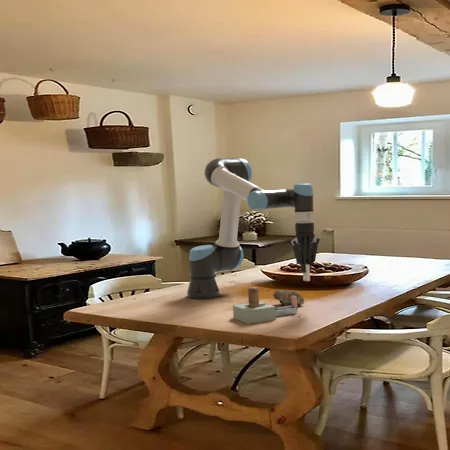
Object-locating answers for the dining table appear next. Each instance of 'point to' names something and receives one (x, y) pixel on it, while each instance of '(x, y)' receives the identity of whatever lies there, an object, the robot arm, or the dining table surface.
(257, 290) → the peg
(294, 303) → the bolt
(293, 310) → the block
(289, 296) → the rock
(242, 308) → the block
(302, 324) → the dining table surface
